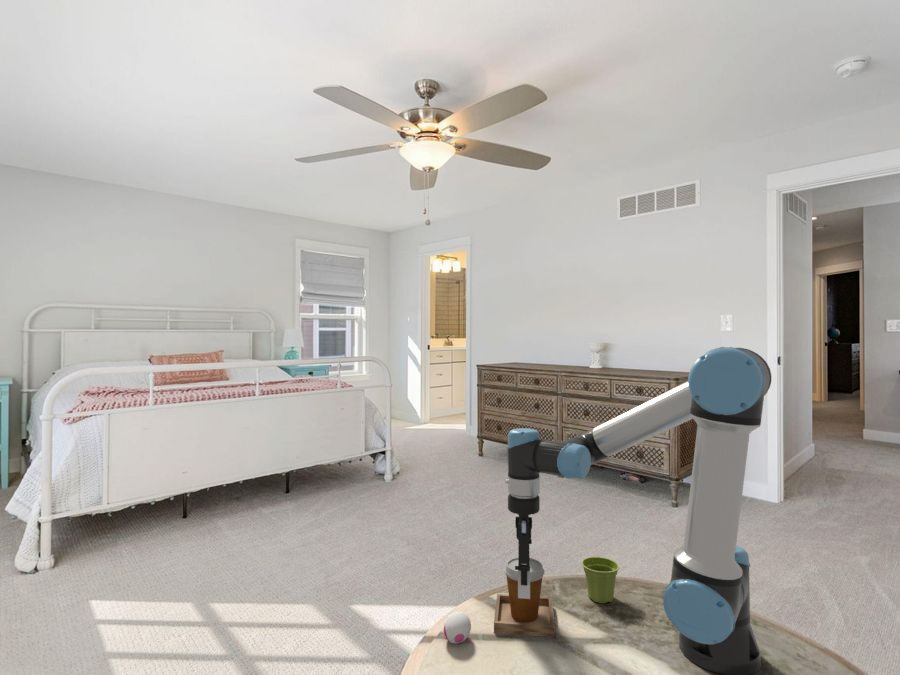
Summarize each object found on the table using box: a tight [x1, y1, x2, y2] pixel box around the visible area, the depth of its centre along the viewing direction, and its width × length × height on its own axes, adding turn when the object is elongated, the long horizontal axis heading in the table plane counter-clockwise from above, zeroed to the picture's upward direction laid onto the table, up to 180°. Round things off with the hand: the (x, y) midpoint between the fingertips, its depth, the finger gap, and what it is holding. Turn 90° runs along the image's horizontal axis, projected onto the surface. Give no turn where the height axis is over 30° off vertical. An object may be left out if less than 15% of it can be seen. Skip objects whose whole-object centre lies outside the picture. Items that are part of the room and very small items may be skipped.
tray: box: [493, 593, 556, 638], centre depth 119 cm, size 14×14×2 cm
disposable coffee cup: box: [503, 556, 545, 622], centre depth 119 cm, size 10×10×12 cm
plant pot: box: [581, 556, 620, 604], centre depth 129 cm, size 9×9×9 cm
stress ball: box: [443, 611, 472, 645], centre depth 110 cm, size 8×8×7 cm
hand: (524, 583), depth 119 cm, fingers open, 13 cm apart
